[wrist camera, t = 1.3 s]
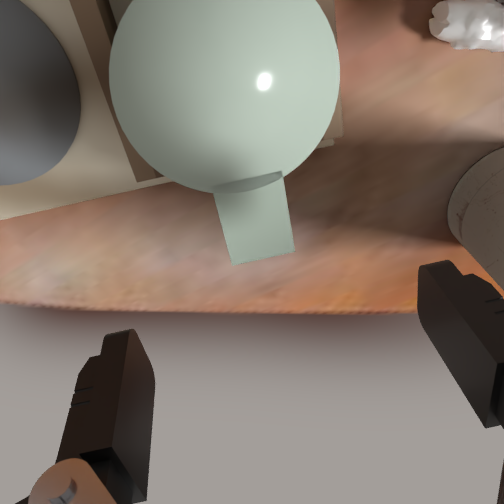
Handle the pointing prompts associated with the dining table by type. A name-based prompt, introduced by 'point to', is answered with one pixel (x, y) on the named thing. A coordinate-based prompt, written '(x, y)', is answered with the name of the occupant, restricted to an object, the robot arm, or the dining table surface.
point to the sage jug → (228, 103)
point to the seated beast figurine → (469, 24)
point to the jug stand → (71, 106)
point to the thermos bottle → (481, 213)
